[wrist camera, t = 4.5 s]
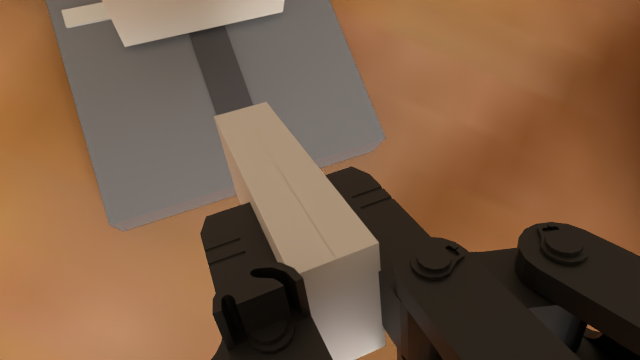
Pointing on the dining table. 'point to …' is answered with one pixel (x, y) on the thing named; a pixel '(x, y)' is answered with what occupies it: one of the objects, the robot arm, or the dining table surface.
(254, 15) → the fader tab
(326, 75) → the slider board
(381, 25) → the dining table surface
